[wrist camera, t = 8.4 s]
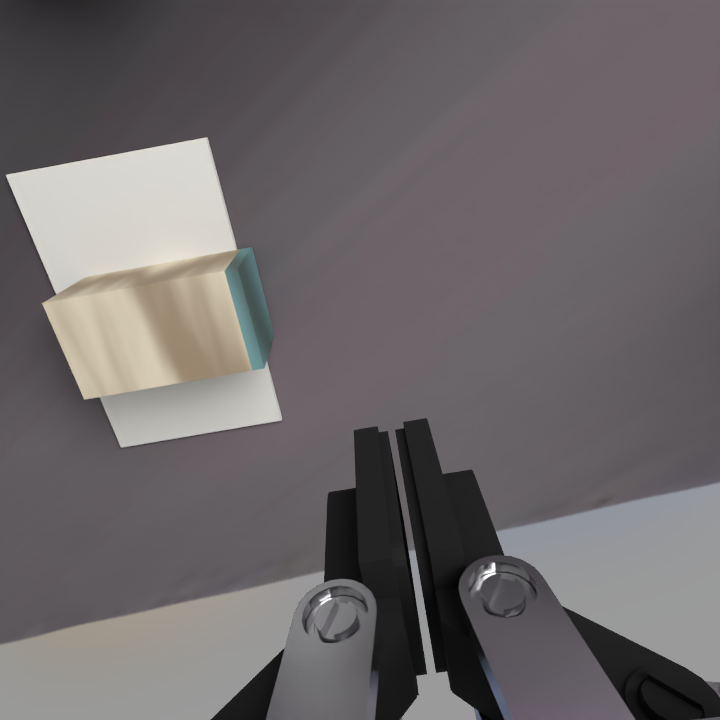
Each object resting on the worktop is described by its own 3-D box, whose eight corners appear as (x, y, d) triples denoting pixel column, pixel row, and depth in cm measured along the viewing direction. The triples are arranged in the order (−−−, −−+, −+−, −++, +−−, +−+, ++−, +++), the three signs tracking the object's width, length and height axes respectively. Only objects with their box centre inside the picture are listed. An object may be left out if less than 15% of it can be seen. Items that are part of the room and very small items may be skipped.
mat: (207, 137, 26) (206, 137, 25) (282, 417, 32) (281, 420, 32) (9, 174, 26) (5, 174, 26) (122, 444, 33) (120, 447, 32)
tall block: (237, 268, 24) (42, 303, 24) (264, 368, 26) (84, 399, 26) (251, 247, 28) (85, 277, 28) (274, 334, 30) (118, 361, 30)
